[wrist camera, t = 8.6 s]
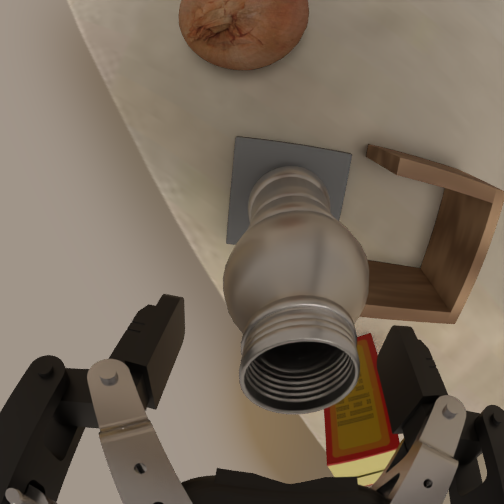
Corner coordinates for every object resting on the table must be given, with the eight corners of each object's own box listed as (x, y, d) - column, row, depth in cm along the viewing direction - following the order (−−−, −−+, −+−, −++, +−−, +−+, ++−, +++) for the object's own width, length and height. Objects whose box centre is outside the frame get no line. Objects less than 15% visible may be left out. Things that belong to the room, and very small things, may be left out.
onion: (244, 70, 25) (200, 109, 19) (191, -3, 20) (125, 11, 14) (335, 30, 20) (327, 49, 14) (278, -53, 14) (239, -74, 8)
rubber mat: (237, 136, 25) (235, 137, 24) (350, 153, 25) (352, 154, 24) (227, 240, 30) (226, 243, 29) (329, 254, 29) (330, 258, 28)
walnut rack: (368, 143, 24) (400, 157, 17) (458, 169, 24) (506, 192, 16) (340, 267, 30) (355, 316, 22) (425, 279, 29) (454, 323, 22)
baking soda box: (318, 348, 35) (327, 468, 20) (370, 333, 33) (401, 450, 19) (335, 391, 38) (343, 493, 24) (379, 379, 36) (401, 479, 22)
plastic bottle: (235, 202, 27) (152, 378, 9) (286, 145, 24) (304, 232, 6) (289, 246, 28) (293, 450, 10) (340, 194, 26) (442, 363, 8)
